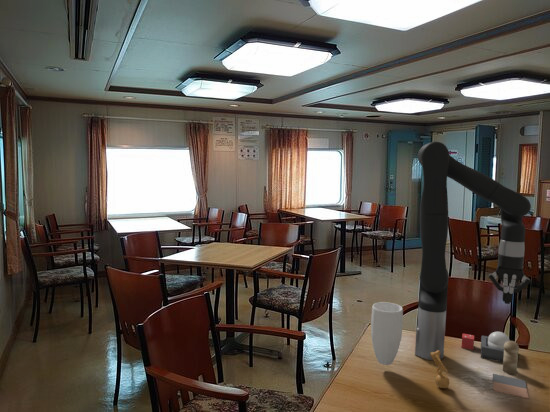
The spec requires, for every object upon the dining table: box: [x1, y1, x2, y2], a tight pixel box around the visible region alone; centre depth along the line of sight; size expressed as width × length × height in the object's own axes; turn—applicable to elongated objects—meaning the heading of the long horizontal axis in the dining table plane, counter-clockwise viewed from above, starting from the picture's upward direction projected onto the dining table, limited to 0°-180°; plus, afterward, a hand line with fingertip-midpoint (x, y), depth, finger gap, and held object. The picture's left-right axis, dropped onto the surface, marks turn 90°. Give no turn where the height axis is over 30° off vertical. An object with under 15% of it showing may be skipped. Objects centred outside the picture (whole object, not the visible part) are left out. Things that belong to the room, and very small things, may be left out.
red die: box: [460, 333, 475, 351], centre depth 155 cm, size 4×4×4 cm
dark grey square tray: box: [480, 335, 516, 363], centre depth 149 cm, size 11×11×4 cm
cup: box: [370, 301, 404, 366], centre depth 135 cm, size 10×10×22 cm
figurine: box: [430, 350, 450, 389], centre depth 126 cm, size 8×6×12 cm
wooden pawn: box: [502, 340, 520, 376], centre depth 137 cm, size 4×4×10 cm
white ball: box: [488, 331, 511, 349], centre depth 149 cm, size 7×7×7 cm
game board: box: [492, 373, 529, 400], centre depth 128 cm, size 9×11×1 cm
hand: (507, 303), depth 142 cm, fingers closed
